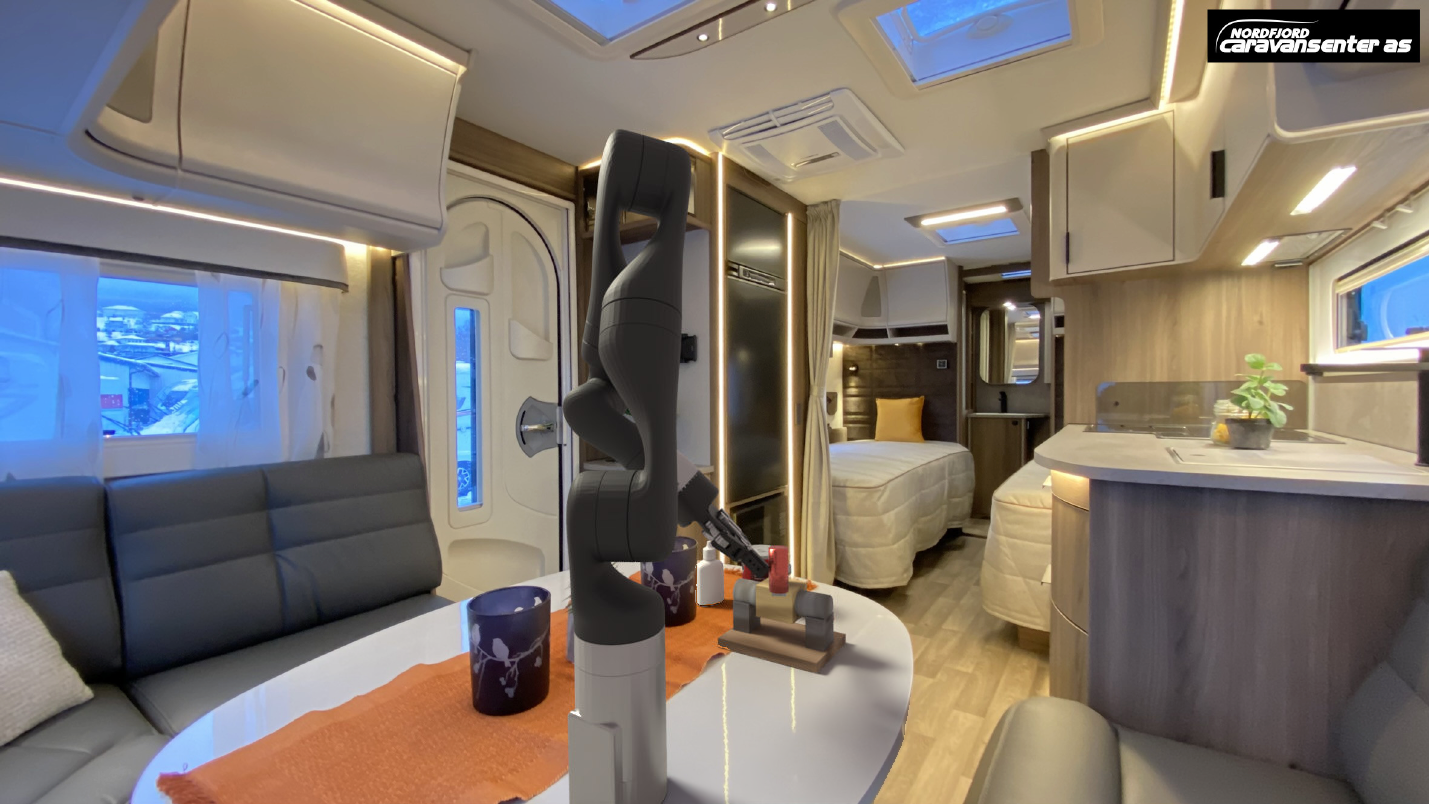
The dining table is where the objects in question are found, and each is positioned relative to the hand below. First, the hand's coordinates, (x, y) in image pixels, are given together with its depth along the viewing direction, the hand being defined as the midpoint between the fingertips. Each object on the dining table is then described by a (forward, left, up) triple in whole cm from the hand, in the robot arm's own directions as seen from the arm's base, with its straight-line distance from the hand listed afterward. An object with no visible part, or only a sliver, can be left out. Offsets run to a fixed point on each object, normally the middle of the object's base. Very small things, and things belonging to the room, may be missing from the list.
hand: (764, 572), depth 84 cm
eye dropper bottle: (+21, +24, -16) cm, 35 cm away
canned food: (+24, +14, -16) cm, 32 cm away
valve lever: (+6, +1, -5) cm, 8 cm away
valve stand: (+11, +3, -15) cm, 19 cm away
